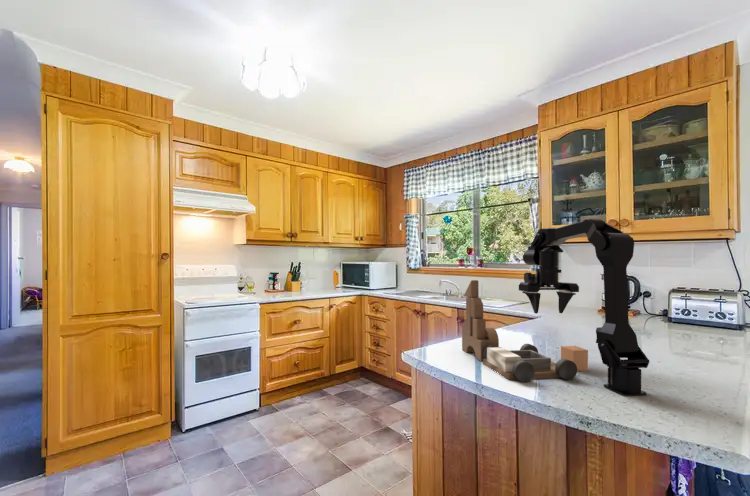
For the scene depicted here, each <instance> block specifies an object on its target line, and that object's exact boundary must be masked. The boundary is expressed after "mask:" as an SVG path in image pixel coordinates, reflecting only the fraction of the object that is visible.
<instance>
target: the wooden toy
mask: <svg viewBox="0 0 750 496" xmlns="http://www.w3.org/2000/svg"><path fill="white" fill-rule="evenodd" d="M463 296H464V297H465V316H466V317H465V321H464V322H463V323H462V325H461V331H462V332H461V350H462V351H463V352H465V353H468V354H469V353H474V354H475V359H476V360H477V361H479V360H480V362H483V359H484V358H483V355H482V352H483V349H484V347H485V346H487V345H493V346H495V347H500V344H499V341H500V340H499V333H498V332H497V330H496V329H495V327H486V323H487V322H486V319H485V318H484V303H483V301H482V299H481V297H479V280H478V279H476V280H475V279H474V280H473V279H472V280H470V282H469V284H468V286H467V289H465V292H464V294H463Z"/></svg>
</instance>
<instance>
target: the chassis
mask: <svg viewBox="0 0 750 496" xmlns="http://www.w3.org/2000/svg"><path fill="white" fill-rule="evenodd" d="M482 355H483V358H484V359H483V361H482V365H484V364H485V365H484V366H486V367H487V366H488V367H487V368H489V367H490V368H491V370H492V369H493V370H492V371H494V370H495V371H496V372H495V371H494V372H495V373H497V372H498V373H499V374H498V373H497V374H498V375H500V374H501V375H500V376H501V377H503V376H504V377H503V378H504V379H506V378H507V379H506V380H508V381H514V380H515V381H517V380H518V381H520V382H522V383H528V382H530V381H531V380H532V379H533V380H535V379H553V378H561V379H564V380H566V381H571V380H573V379H575V377H576V376H577V373H578V371H577V366H576V364H575V363H574V362H573V361H570V360H568V359H561V358H560V359H559V360H557V362H554V361H552V358H550V357H548V356H546V355H543V354H541V353H539V349H538V348H537V347H536V346H535V345H533V344H530V343H524V344H523V345H522V346H521V347H520V348H519V350H518V349H516V350H514V349H513V350H509V349H506V348H503V347H501V346H499V347H495V346H493V345H487V346H485V347H484V349H483V352H482ZM490 368H489V369H490Z"/></svg>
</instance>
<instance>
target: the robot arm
mask: <svg viewBox="0 0 750 496" xmlns="http://www.w3.org/2000/svg"><path fill="white" fill-rule="evenodd" d="M585 236H586V239H587V241H588V242H589V243H590V244H591V245H593V247H594V250H595V257H596V258H597V260H598V261H599V263H600V264H601V265H602V266H601V267H602V268H603V292H604V293H603V294H604V296H603V297H604V318H605V319H604V322H603V325H602V326H601V327H596V329H595V334H596V335H595V336H596V339H595V343H596V344H597V349H598V352H599V354H600V358H601V361H602V364H603V365H605V366H606V367H607V383H604V384H603V387H604V388H606V389H608V390H610V391H612V392H615V393H618V394H620V395H622V396H625V397H628V396H629V397H632V396H644V395H645V396H646V395H648V394H647V393H648V392H647V391H644V390H642V369H648V367H649V364H650V359H649V358H648V357H647V355H646V354H645V353H644V351H643V350H642V349H641V347H640V346H639V342H638V338H637V334H636V332H635V331H634V329H633V328H632V326H631V325H630V322H629V302H628V296H629V295H628V278H627V277H628V275H627V273H628V271H627V268H628V266H629V264H630V262H631V260H632V259H633V257H634V250H635V241H634V238H633V237H632V236H630V235H629V234H628V233H625V232H623V230H620V229H619V228H617V227H614V226H612V225H611V224H608V223H607V222H606V221H604V220H603V219H600V218H586V219H584V220H581V221H578V222H574V223H571V224H567V225H564V226H560V227H542V228H541V227H540V228H538V230H537V232H536V233H535V235H534V238H533V241H532V242H531V243H530V245H529V246H527V250H525V251H524V253H523V255H522V259H523V262H524V264H525V265H527V266H539V268H536V271H535V274H534V273H532V272H525V273H523V281H521V282H520V283H519V284H518V291H520V292H521V291H522V294H525V295H526V296H527V298H528V299H529V302H530V305H531V308H532V311H533V313H534V314H536V315H537V314H538V313H539V309H540V300H541V294H542V293H541V292H539V291H555V292H556V294H557V296H558V313H559V314H563V313H564V311H565V309H566V307H567V305H568V303H570V301H571V300H572V298H573V296H576V295H577V293H580V285H578V283H574V282H562V281H559V274H560V273H562V269H560V268H559V265H560V264H559V262H560V261H559V258H560V255H559V254H560V253H564V250H563V248H561V247H560V246H561V245H562V244H564V243H566V241H567V240H572V239H576V238H581V237H585Z"/></svg>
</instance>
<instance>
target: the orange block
mask: <svg viewBox="0 0 750 496" xmlns="http://www.w3.org/2000/svg"><path fill="white" fill-rule="evenodd" d="M560 359H568V360H570V361H573V362H574V363H575V364H576V366H577V372H578V371H579V372H581V371H588V370H589V350H588V349H586V348H584V347H580V346H577V345H561V346H560Z"/></svg>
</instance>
